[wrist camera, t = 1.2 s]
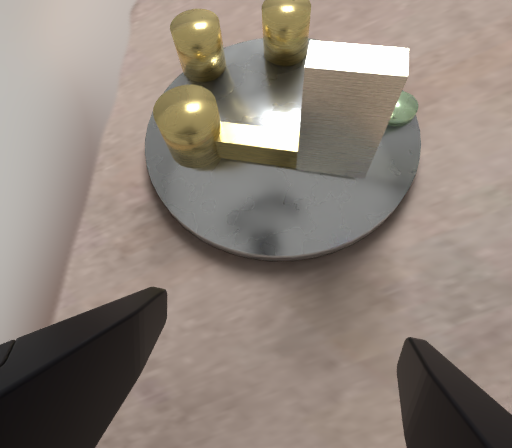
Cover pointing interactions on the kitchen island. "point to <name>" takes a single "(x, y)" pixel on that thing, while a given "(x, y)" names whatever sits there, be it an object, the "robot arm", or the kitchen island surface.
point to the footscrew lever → (311, 121)
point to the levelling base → (264, 175)
